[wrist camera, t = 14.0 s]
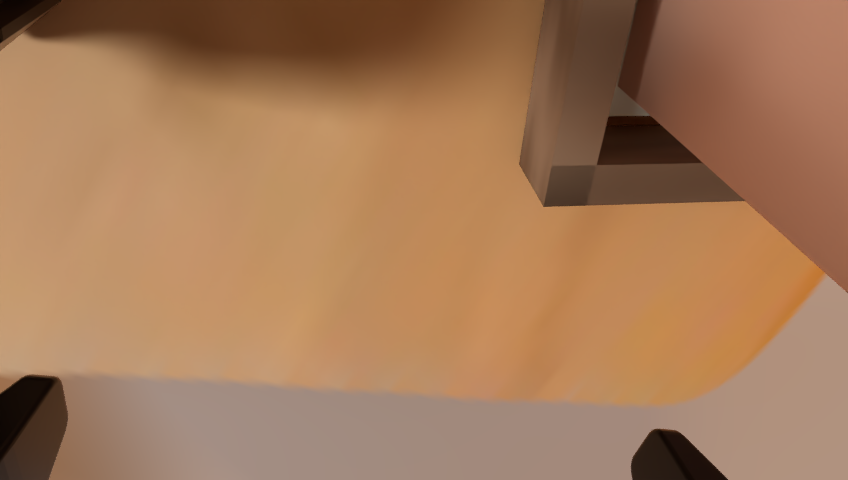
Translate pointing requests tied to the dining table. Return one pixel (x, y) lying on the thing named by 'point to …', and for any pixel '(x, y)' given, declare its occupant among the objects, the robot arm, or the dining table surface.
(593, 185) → the corner bracket
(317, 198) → the dining table surface
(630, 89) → the terracotta block
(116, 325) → the dining table surface
